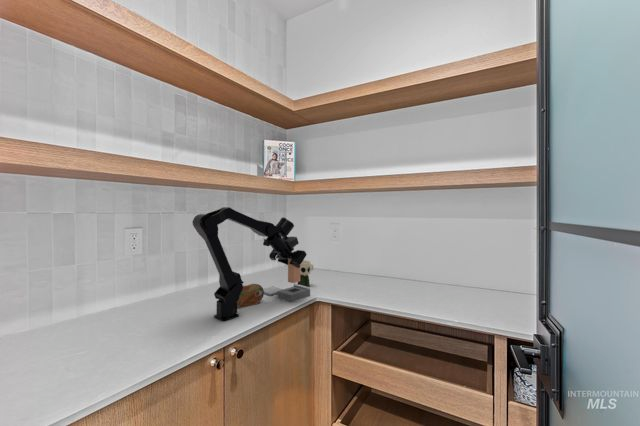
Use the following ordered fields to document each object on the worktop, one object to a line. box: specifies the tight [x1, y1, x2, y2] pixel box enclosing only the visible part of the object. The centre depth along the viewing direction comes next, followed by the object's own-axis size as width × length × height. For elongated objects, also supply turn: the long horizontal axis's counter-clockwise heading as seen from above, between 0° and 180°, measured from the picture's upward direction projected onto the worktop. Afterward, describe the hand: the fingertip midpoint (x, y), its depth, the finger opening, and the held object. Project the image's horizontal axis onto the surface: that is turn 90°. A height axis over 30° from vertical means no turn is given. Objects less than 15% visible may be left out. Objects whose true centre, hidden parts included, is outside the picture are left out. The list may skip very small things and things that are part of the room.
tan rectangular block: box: [287, 259, 301, 284], centre depth 125 cm, size 4×4×12 cm
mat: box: [263, 285, 284, 297], centre depth 131 cm, size 9×9×1 cm
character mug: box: [297, 259, 314, 287], centre depth 141 cm, size 11×7×13 cm, turn 118°
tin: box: [237, 283, 265, 309], centre depth 113 cm, size 15×3×8 cm, turn 129°
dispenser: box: [276, 283, 311, 303], centre depth 125 cm, size 12×9×4 cm
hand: (296, 266), depth 126 cm, fingers closed on tan rectangular block, 3 cm apart
